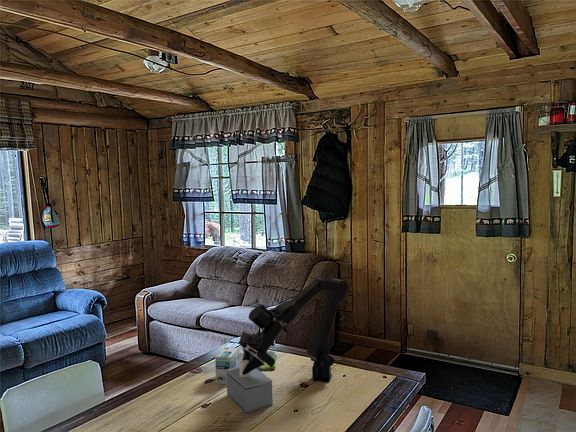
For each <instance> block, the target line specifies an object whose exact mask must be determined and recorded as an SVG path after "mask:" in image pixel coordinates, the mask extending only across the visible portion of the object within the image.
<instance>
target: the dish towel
mask: <svg viewBox="0 0 576 432" xmlns="http://www.w3.org/2000/svg"><path fill="white" fill-rule="evenodd" d="M239 353H240V361H242V360H243V356H244V352H239ZM266 353H268V354H269V355H270V356H271V357H272V358H274V359H275V364H274V366H273V367H272V368H271V367H270V366H268V365H267V364H266V363H265V362H264V364H265V365H262V366H260V367H258V368H256V369H258V370H259V371H260V372H262V371H268V370H270V371H271V370H275V369H276V366H277V359H278V355H277V354H276V352H275V351H274V350H273V351H272V350H270V351H267V352H266Z"/></svg>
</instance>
